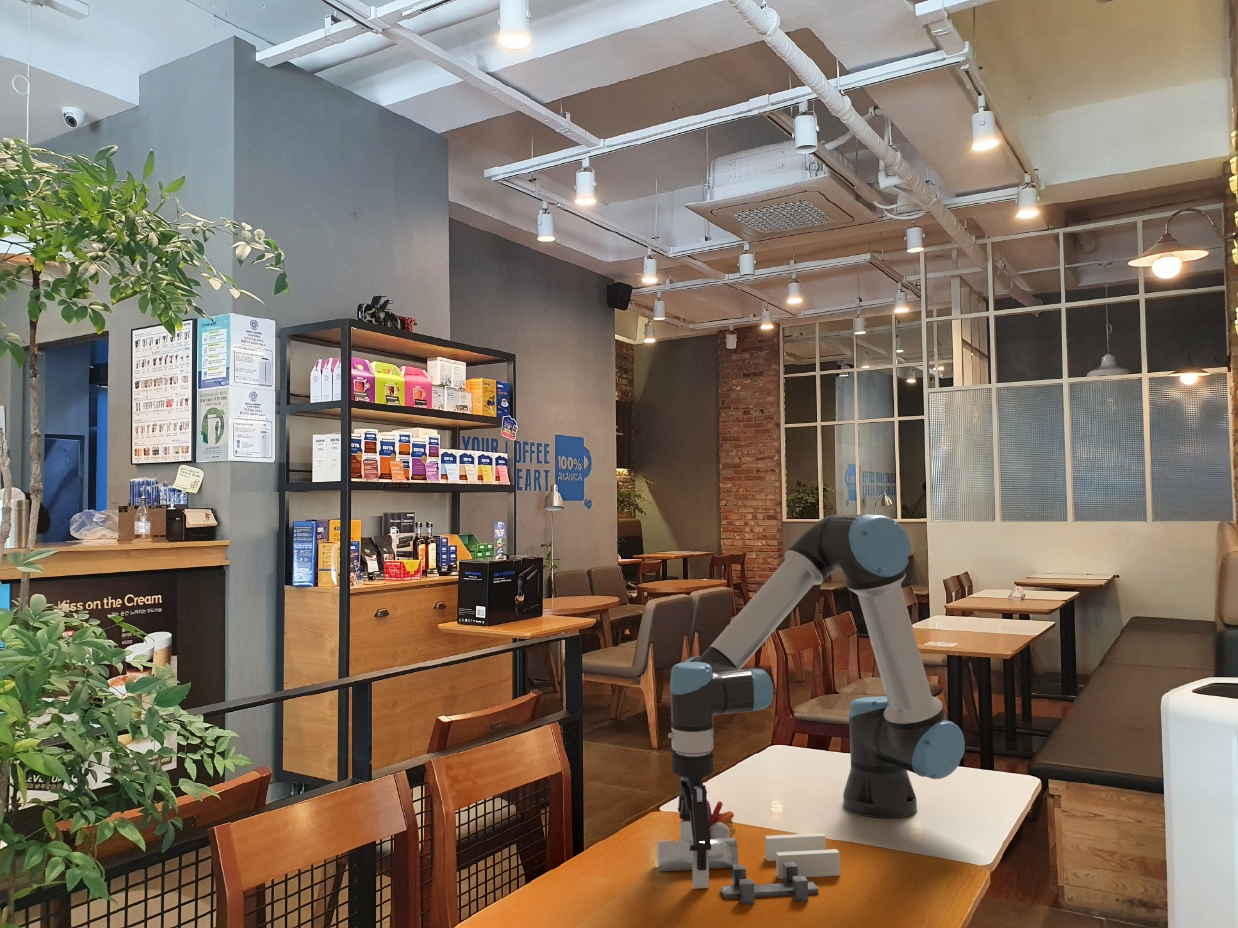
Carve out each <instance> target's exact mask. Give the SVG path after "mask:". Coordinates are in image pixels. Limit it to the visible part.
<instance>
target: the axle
mask: <svg viewBox="0 0 1238 928" xmlns="http://www.w3.org/2000/svg"><path fill="white" fill-rule="evenodd" d="M699 843H704V841H703V842H699ZM710 843H711V850H709V870H714V869H715V870H716V869H719V868H720V869H732V865H739V849H738V844H737V840H736V838H735V837H730V838H719V839H712V838H710ZM690 846H693V840H663V841H660V840H659V841H657V843H656V857H657V868H658V871H659V872H660V873H662V872H680V871H693V870H692V851H690Z"/></svg>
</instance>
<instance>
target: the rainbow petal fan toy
mask: <svg viewBox="0 0 1238 928" xmlns="http://www.w3.org/2000/svg"><path fill="white" fill-rule="evenodd" d="M711 808H712V807H711V803H710V802H709V800H708V799H707V810H708V821H709V832H710V839H719V838H731V836H734V835H735V834H736V826H735V825H734V823H733V818H734V817H735V814H734V812H733V811H726V812H721V810H722V808H723V802H722V801H718V802H717V803H716V805H715V808H714V809H713V812H712V809H711Z"/></svg>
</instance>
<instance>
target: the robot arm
mask: <svg viewBox="0 0 1238 928" xmlns="http://www.w3.org/2000/svg"><path fill="white" fill-rule="evenodd" d="M911 553H912V551H911V541H910V537H909V536H908V534H907V532H906V530H905V529H904V527H903V526H902V525H901V524H900V522H898V521H897V520H895V519H893V518H891V517H888V516H885V515H879V514H876V513H867V514H866V513H865V514H841V513H838V514H836V513H835V514H832V515H829V516H826V517H824V518H821V519H820V520H818V521H817V522H815V523H814V524H812V525H811V526H810V527H809V528H808V529H807V530H806V531H805V532H803V534H800V536H799V537H798V538H797V539H796V540H795V542H794V543H793V544H792V545H790V547H789V548H787V550H786V552H785V553H784V561H783V562H782V563H781V565H780V566H779V567H778V568H777V569H776V570H775V572H774V573H773V574H772V575H771V576H770V577H769V578H768V580H766V582H765V583H764V584H763V585H762V586H761V587H760V588H759V589H758V591H757V592H756V593H755V595H754V596H752V598H751V599H750V600H749V601H748V602H747V603H746V605H745V606H744V607H743V608H742V609H741V610H740V611H739V612H738V614H737V615H736V616H735V617H734V618H733V619H732V621H731V622H730V623H729V624H728V625H727V626H726V627H725V629H723V630H722V632H721V633H720V634H719V635H718V637H716V639H715V640H714V641H713V642H712V643H711V644H710V645H709V647H707V649H706V650H705V651H704V652H703V653H702V654H701V656H700V655H699V656H692V657H689V658H688V659H686V660H685V661H683V662H679V663H676V664H674V665H673V666H672V668H671V671H670V672H671V673H670V683H669V685H670V687H669V693H670V714H671V715H670V716H671V717H670V718H671V719H670V720H671V722H670V723H671V724H670V725H671V732H669V733H668V734H667V736H668V738H669V739H671V749H672V750H673V751H672V752H671V772H672V774H674V775H675V776H677V777H680V779H679V794H678V804H677V805H678V806H677V811H678V813H679V815H678V816H679V819H680V821H679V829H680V830H679V834H680V835H679V837H680V840H693V846H690V851H692V870H691V871H692V887H693V888H692V889H709V888H710V871H709V870H710V869H709V850H711V843H710V839H711V837H710V832H709V830H710V829H709V821H708V810H707V800H708V798H707V796H708V795H707V794H708V790H707V787H706V785H705V784H704V783H703V781H702V780H703V778H705V777H709V776H711V775H712V774H713V773H714V770H715V769H714V766H715V765H714V764H715V763H714V762H715V761H714V753H713V752H712V751H713V749H714V716H718V715H719V716H720V715H729V714H737V713H747V712H748V713H749V712H751V713H754V712H755V711H761V710H765V709H767V708H768V707H769V706H770V705H771V704H772V701H773V697H774V685H773V682H772V680H771V677H770V675H769V673H767V671H765V670H764V669H762V668H750V667H749V668H747V669H742V668H743V667H744V666H745V665H746V664H747V663H748V661H749V660H750V659H751V658H752V657H753V655H754V654H755V653H756V652H757V651H758V650H759V648H761V646H762V645H763V644H764V643H765V641H766V640H767V639H768V638H769V637H770V636H771V635H772V633H774V631H775V630H776V629H777V628H778V626H779V625H780V624H781V623H782V622H783V620H784V619H785V618H786V617H787V616H788V615H789V614H790V613H791V612H792V610H794V608H795V607H796V605H797V604H799V602H800V601H802V599H803V598H804V596H805V595H806V594H807V593H808V592H809V590H811V588H812V587H813V586H815V585H821V584H822V583H823V582H824V580H826V579H827V578H828V577H829V576H830V575H832V574H834V573H836V572H842V573H843V577H844V579H845V580H844V581H845V584H846V587H847V589H848V590H850V591H851V592H852V593H855V594H856V595H857V597H858V601H859V604H860V608H861V611H862V615H863V619H864V621H865V626H866V629H867V633H868V636H869V639H870V644H871V647H872V651H873V654H874V658H875V661H876V664H877V668H878V672H879V676H880V678H881V683H882V685H883V689H884V693H885V696H882V695H881V696H866V697H860V698H855V699H854V700H852V701H851V702H850V704H849V712H848V727H849V747H850V748H849V750H850V752H849V753H850V770H849V774H848V777H847V779H846V784H845V786H844V789H843V796H842V797H843V799H842V800H843V807H844V808H845V809H847V810H848V811H850V812H853V813H854V814H857V815H862V816H865V817H866V816H867V817H873V818H883V819H885V818H886V819H889V818H890V819H893V818H894V819H896V818H903V817H907V816H911V815H913V814H915V813H916V811H917V809H918V807H917V806H918V805H917V800H918V799H917V796H916V794H915V793H916V792H915V791H914V787H913V785H912V781H911V779H910V776H909V773H908V772H911V773H914V774H915V775H917V776H919V777H922V778H929V779H930V780H931V779H933V780H941V779H944V778H947V777H949V776H950V775H951V774H952V773H954V772H955V771H956V769H957V768H958V767H959V765H960V763H961V760H962V759H963V756H964V754H965V744H966V743H965V737H964V733H963V731H962V729H961V728H960V727H959V726H958V725H957V724H955V722H953V721H950V720H948V719H947V717H946V713H945V710H944V706H943V703H942V701H941V700H940V699H938V698H936V697H935V696H933V695H932V692H931V688H930V685H929V681H928V677H927V674H926V670H925V666H924V663H923V660H922V656H921V652H920V650H919V644H918V641H917V638H916V635H915V631H914V627H913V624H912V621H911V618H910V613H909V610H908V606H907V603H906V599H905V595H904V592H903V588H902V583H903V581H904V580H905V578H906V577H907V573H906V567H907V566H908V564H909V562H910V560H909V557H911ZM703 841H704V843H699V842H703Z"/></svg>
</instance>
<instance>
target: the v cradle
mask: <svg viewBox="0 0 1238 928" xmlns="http://www.w3.org/2000/svg"><path fill="white" fill-rule="evenodd" d="M731 880H732V881H731V883H732V885H728V886H727V885H725V886H723V885H722V886H720V892H721V895H722V896H723V899H724V900H731V899H734V900H735V899H739V901H740V902H741V904H742V905H744V906H745V905H755V903H756V901H755V898H767V897H784V896H785V897H786V896H792V897H793V899H794V900H795V902H796V903H797V902H808V901H809V895H818V894H819V888H818V886H817V885H816V883H815V882H814V881H808V879H807V877H805V876H798V866H797V865H796V863H795V862H783V879H782V881H783V882H780V883H761V884H755V882H754V880H753V878H747V869H746V867H745V865H744V864H738V865H732V868H731Z"/></svg>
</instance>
